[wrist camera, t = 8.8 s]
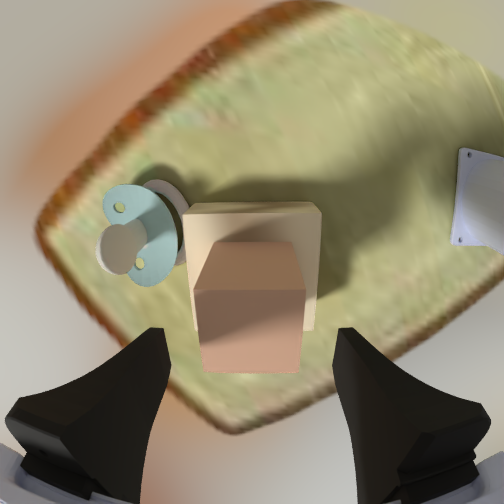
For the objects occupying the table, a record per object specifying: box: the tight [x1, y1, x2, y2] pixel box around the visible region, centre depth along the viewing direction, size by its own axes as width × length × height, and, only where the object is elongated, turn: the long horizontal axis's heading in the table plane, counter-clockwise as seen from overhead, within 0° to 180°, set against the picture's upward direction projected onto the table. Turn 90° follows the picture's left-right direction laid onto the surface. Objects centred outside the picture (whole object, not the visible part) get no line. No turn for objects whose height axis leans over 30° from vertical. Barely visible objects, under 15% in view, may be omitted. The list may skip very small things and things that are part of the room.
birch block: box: [182, 202, 322, 331], centre depth 20 cm, size 8×8×4 cm
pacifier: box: [96, 179, 189, 287], centre depth 18 cm, size 7×6×6 cm
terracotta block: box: [193, 242, 306, 373], centre depth 15 cm, size 4×4×6 cm
